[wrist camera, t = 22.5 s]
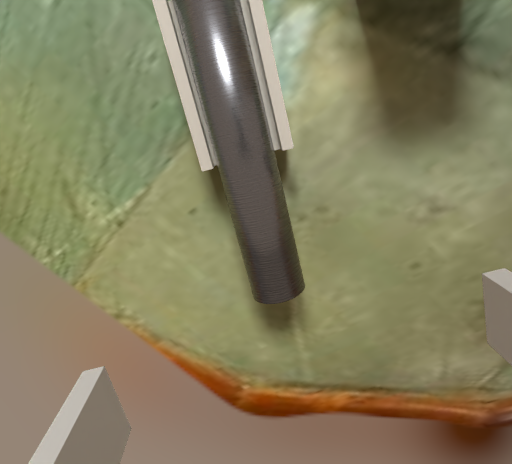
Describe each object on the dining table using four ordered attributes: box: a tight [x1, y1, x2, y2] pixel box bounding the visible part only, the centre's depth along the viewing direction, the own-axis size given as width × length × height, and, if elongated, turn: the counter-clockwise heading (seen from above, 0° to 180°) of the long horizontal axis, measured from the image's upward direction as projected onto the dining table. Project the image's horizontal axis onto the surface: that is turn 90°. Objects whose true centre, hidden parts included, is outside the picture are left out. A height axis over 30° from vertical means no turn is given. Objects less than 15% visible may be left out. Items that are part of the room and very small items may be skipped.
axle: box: [172, 0, 305, 304], centre depth 26 cm, size 24×4×4 cm, turn 14°
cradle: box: [152, 0, 294, 171], centre depth 28 cm, size 11×7×4 cm, turn 14°
